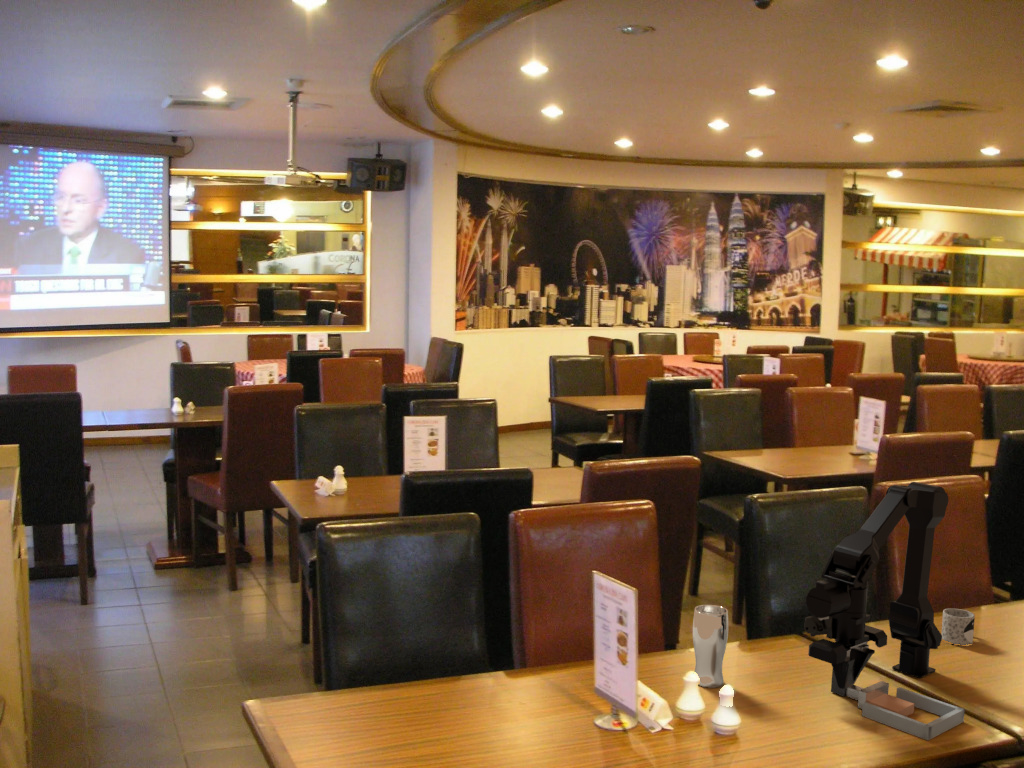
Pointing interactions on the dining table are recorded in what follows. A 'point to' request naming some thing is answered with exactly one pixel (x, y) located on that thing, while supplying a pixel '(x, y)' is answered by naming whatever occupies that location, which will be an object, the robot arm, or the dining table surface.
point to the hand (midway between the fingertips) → (846, 685)
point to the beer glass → (710, 643)
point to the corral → (926, 731)
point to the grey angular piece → (859, 689)
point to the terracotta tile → (893, 704)
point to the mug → (958, 626)
